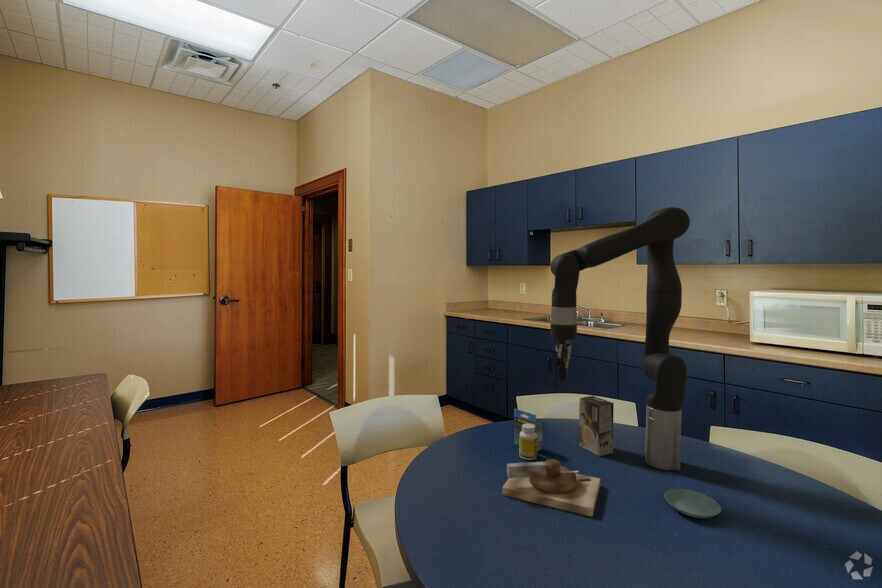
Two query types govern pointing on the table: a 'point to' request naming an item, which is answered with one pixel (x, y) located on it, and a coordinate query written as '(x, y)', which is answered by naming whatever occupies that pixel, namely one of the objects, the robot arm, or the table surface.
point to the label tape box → (522, 420)
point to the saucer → (692, 503)
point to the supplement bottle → (528, 442)
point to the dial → (545, 475)
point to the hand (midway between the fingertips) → (562, 379)
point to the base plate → (557, 494)
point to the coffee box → (596, 425)
